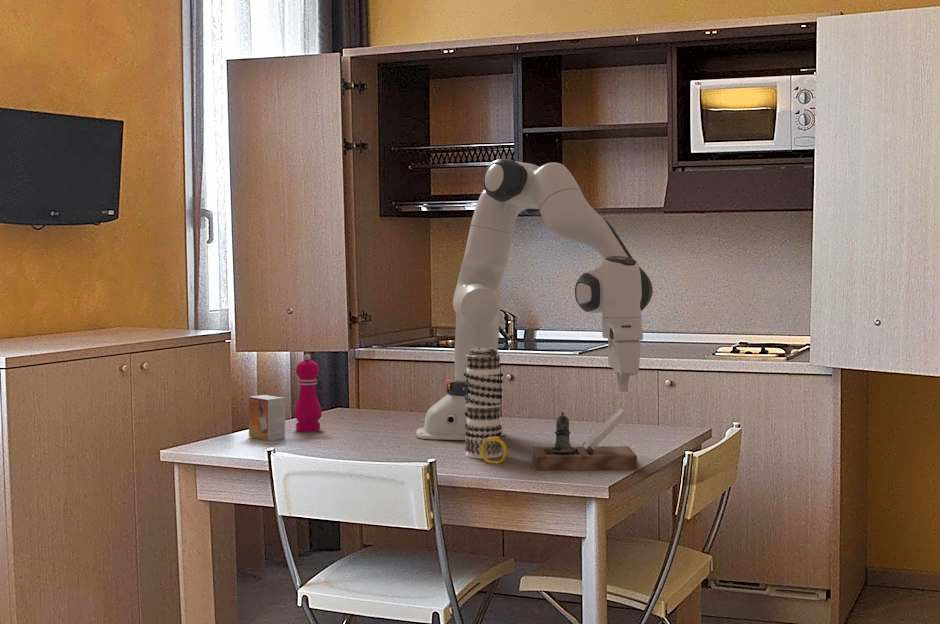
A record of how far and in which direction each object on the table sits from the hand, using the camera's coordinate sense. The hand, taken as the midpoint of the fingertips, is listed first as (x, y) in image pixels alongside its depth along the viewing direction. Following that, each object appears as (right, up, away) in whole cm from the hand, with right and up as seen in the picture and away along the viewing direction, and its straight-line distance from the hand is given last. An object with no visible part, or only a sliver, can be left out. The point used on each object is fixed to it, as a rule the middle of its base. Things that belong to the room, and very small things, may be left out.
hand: (623, 391), depth 269 cm
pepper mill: (-77, -14, +48) cm, 92 cm away
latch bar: (-4, -9, 0) cm, 10 cm away
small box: (-86, -14, +36) cm, 94 cm away
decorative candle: (-31, -16, +12) cm, 37 cm away
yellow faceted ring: (-29, -17, +3) cm, 33 cm away
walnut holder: (-9, -16, +1) cm, 19 cm away
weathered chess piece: (-14, -17, -1) cm, 22 cm away
